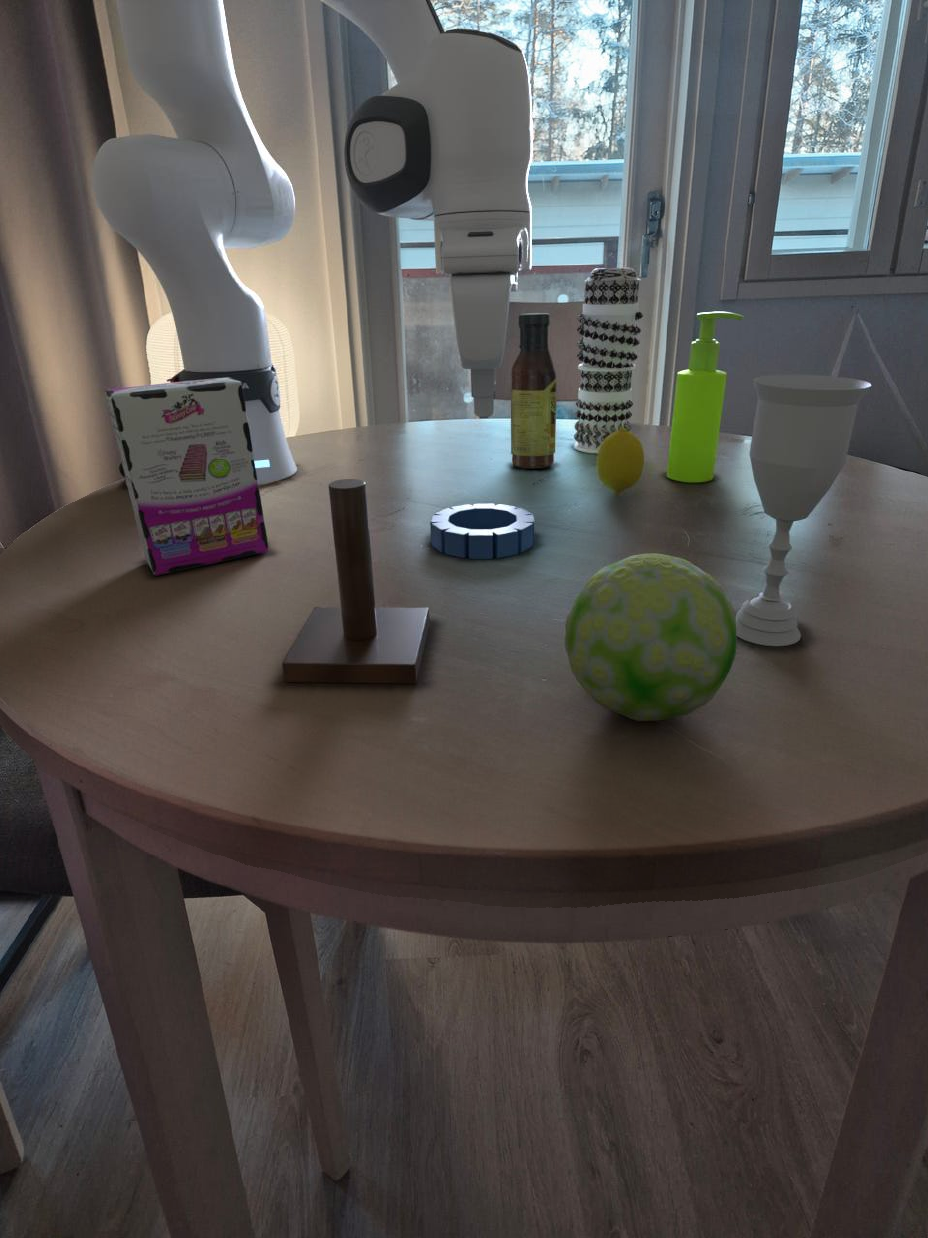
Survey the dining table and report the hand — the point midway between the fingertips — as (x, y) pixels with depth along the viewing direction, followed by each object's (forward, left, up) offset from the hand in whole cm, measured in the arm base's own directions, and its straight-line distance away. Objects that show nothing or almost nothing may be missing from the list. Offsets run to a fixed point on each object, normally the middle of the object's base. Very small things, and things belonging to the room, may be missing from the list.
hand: (485, 407), depth 71 cm
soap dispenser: (+27, +21, -13) cm, 36 cm away
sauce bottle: (+6, +28, -13) cm, 31 cm away
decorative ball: (+11, -35, -13) cm, 39 cm away
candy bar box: (-27, -9, -13) cm, 31 cm away
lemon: (+16, +13, -13) cm, 24 cm away
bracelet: (0, -4, -13) cm, 13 cm away
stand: (-8, -28, -13) cm, 32 cm away
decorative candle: (+17, +39, -13) cm, 44 cm away
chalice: (+22, -24, -13) cm, 35 cm away
